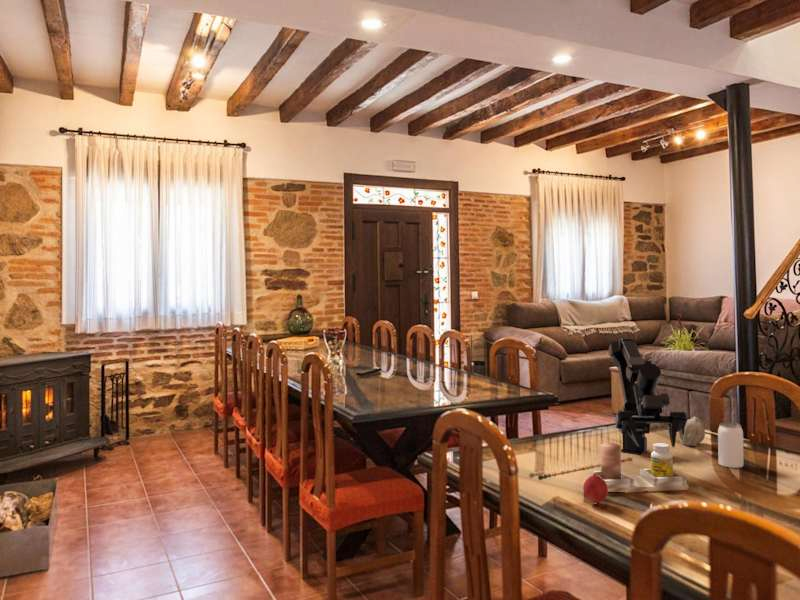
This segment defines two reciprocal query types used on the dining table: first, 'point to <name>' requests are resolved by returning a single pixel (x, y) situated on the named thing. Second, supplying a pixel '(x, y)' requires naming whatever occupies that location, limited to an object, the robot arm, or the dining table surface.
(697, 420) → the grey round lump
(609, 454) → the candle holder
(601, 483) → the onion
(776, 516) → the dining table surface
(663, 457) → the supplement bottle
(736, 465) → the can
